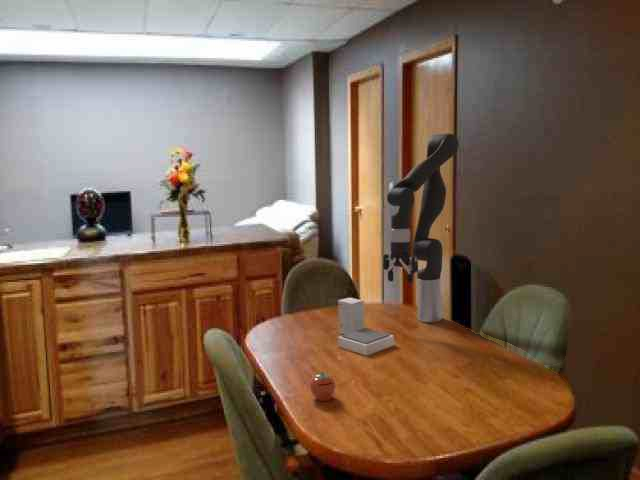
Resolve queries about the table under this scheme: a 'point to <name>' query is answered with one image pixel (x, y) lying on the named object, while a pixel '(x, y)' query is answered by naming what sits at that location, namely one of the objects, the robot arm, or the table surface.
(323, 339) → the table surface
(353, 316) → the small box
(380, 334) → the stack base
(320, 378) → the tomato
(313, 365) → the table surface
